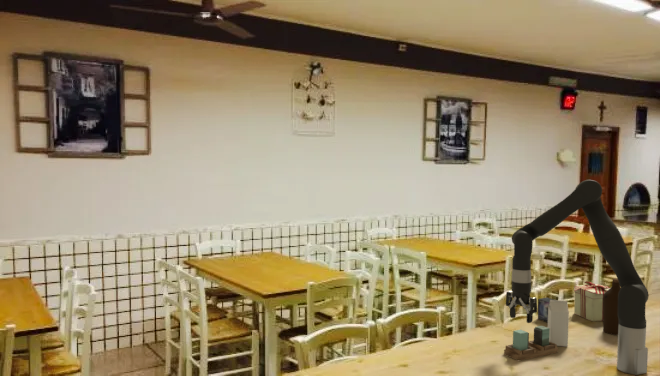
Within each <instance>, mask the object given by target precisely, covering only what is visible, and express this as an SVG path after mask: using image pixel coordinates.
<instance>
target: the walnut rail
mask: <svg viewBox="0 0 660 376" xmlns="http://www.w3.org/2000/svg"><path fill="white" fill-rule="evenodd" d="M549 330H550V328H548V326H544V325H538V326H535V327H534V328H533V339H532V340H529V348H527V349H526V350H521V351H520V350H518V349H515V348H513V343H512V344H508V345H505V349H504V350H503V355H505V356H507V357H510V358H512V359H514V360H516V361H524V359H525V360H528V359H532V358H538V357H542V356H543V357H544V356H548V355H552V353H553V354H556V353H557V352H558V353H559V347H558V346H557V344H554V343H552V342H549ZM558 353H557V354H558Z"/></svg>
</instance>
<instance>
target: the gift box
mask: <svg viewBox="0 0 660 376" xmlns="http://www.w3.org/2000/svg"><path fill="white" fill-rule="evenodd" d="M610 288H611V287H609V286H607V285H601V284H595V283H594V282H593V281H592V282H591V281H584V284H583V285H582V284H581V285H574V286H573V293H574V306H573V307H574V311H573V312H574V314H575V315H577V316H579V317H581V318H583V319H586V320H588V321H591V322H603V296H604V294H605V292H606V291H608V290H609V289H610Z"/></svg>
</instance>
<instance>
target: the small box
mask: <svg viewBox="0 0 660 376" xmlns="http://www.w3.org/2000/svg"><path fill="white" fill-rule="evenodd" d="M550 300H554V298H549V297H542V298H537V320H540V321H542V320H543V322H545V321H546V323H548V306H549V303H550Z"/></svg>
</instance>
